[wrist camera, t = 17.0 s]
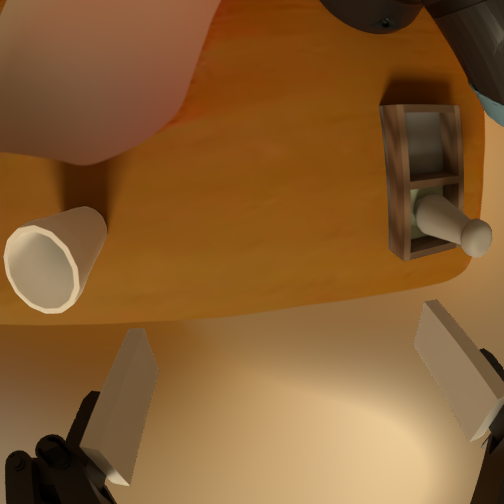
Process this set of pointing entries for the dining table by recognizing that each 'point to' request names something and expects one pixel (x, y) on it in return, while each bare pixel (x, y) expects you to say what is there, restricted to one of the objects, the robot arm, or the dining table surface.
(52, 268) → the foam cup
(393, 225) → the wooden compartment tray
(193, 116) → the dining table surface
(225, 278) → the dining table surface
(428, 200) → the salt shaker
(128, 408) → the robot arm
